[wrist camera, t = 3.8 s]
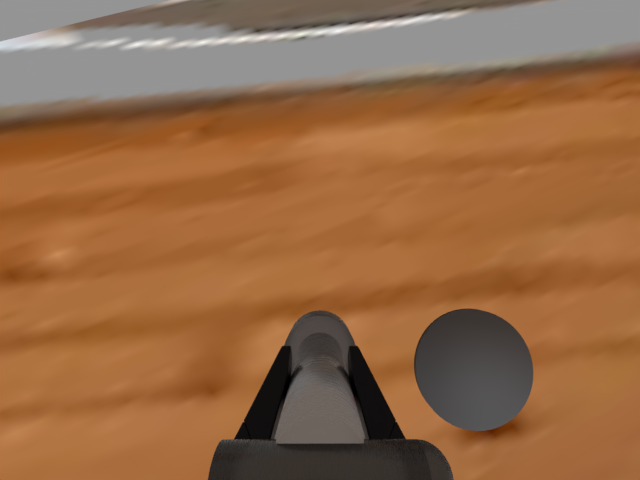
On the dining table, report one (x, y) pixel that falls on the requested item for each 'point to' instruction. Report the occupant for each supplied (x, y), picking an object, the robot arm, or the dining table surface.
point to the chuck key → (324, 423)
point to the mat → (473, 369)
